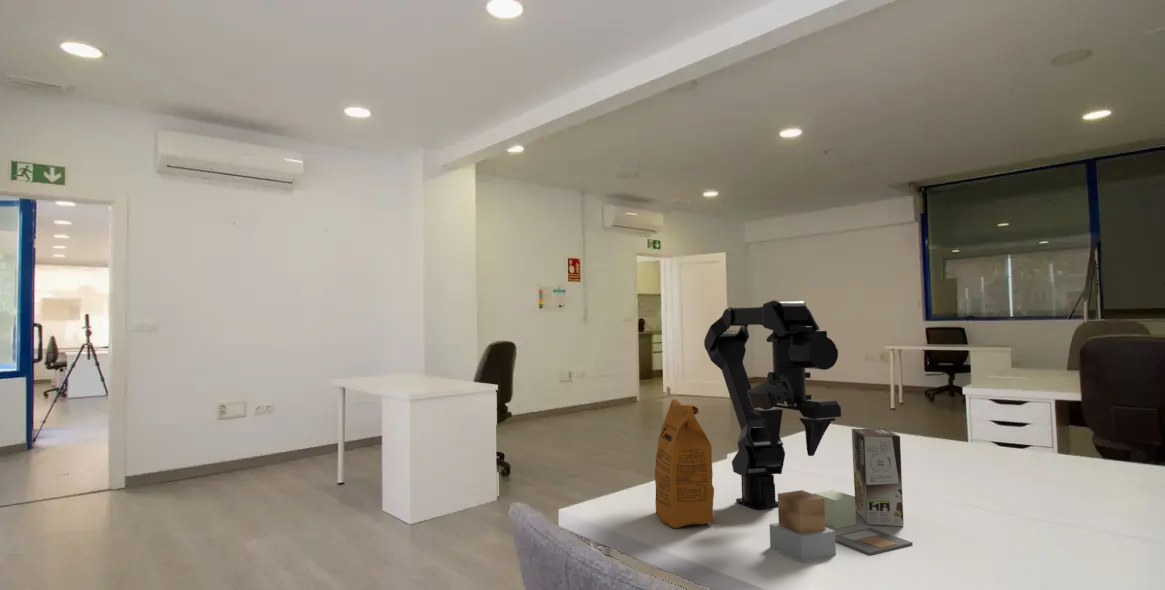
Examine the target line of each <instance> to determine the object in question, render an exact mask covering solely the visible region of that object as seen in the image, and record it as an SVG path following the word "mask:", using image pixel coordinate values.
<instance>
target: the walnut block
mask: <svg viewBox="0 0 1165 590" xmlns="http://www.w3.org/2000/svg"><path fill="white" fill-rule="evenodd" d="M777 502H778V506H777V509H778V522H779V525H781V526H783V527H785V528H787V529H789V530H792V531H794V532H796V533H798V534H806V533H811V532H817V531H823V530H825V527H826V524H825V506H824V498H823V497H820V496H817V495H814V493H812V492H809V491H806V490H802V489H801V490H795V491H786V492H779V493H777Z"/></svg>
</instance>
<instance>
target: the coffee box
mask: <svg viewBox="0 0 1165 590" xmlns="http://www.w3.org/2000/svg"><path fill="white" fill-rule="evenodd" d="M851 445H852V446H851V447H852V463H853V464H852V466H853V467H852V468H853V484H854V485H853V486H854V488H853V489H854V497H855V509H856V514H858V515H859V516H860V518H862V519H863V521H865V523H866V524H867V525H873V526H888V527H889V526H890V527H891V526H892V527H904V504H903V501H904V499H903V483H902V482H903V481H902V480H903V479H902V478H903V477H902V450H901V436H900V435H899V434H896V433H894V432H892V431H890V430H888V429H886V428H851Z"/></svg>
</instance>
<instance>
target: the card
mask: <svg viewBox="0 0 1165 590" xmlns="http://www.w3.org/2000/svg"><path fill="white" fill-rule="evenodd" d="M835 542H836V543H838V544H840V545H843V546H846V547H849V548H851V549H853V550H855V551H858V552H861V553H864V554H866V555H868V556H871V555H876V554H880V553H886V552H889V551H893V550H897V549H901V548H906V547H910V546H913V543H914V542H913V541H909V540H907V539H904V538H900V537H898V536H895V535H893V534H889V533H886V532H884V531H881V530H877V529H875V528H872V527H868V528H864V529H859V530H854V531H848V532H845V533H839V534H835Z"/></svg>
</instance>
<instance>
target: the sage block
mask: <svg viewBox="0 0 1165 590" xmlns="http://www.w3.org/2000/svg"><path fill="white" fill-rule="evenodd" d="M813 494H814V495H817V496H820V497H823V498H824V506H825V526H829V527H832V528H835V529H839V528H844V527H848V526H855V525H856V524H857V515H856V514H857V512H856V509H855V495H851V494H847V493H844V492H841V491H837V490H834V489H832V490H826V491H819V492H814V493H813Z"/></svg>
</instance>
